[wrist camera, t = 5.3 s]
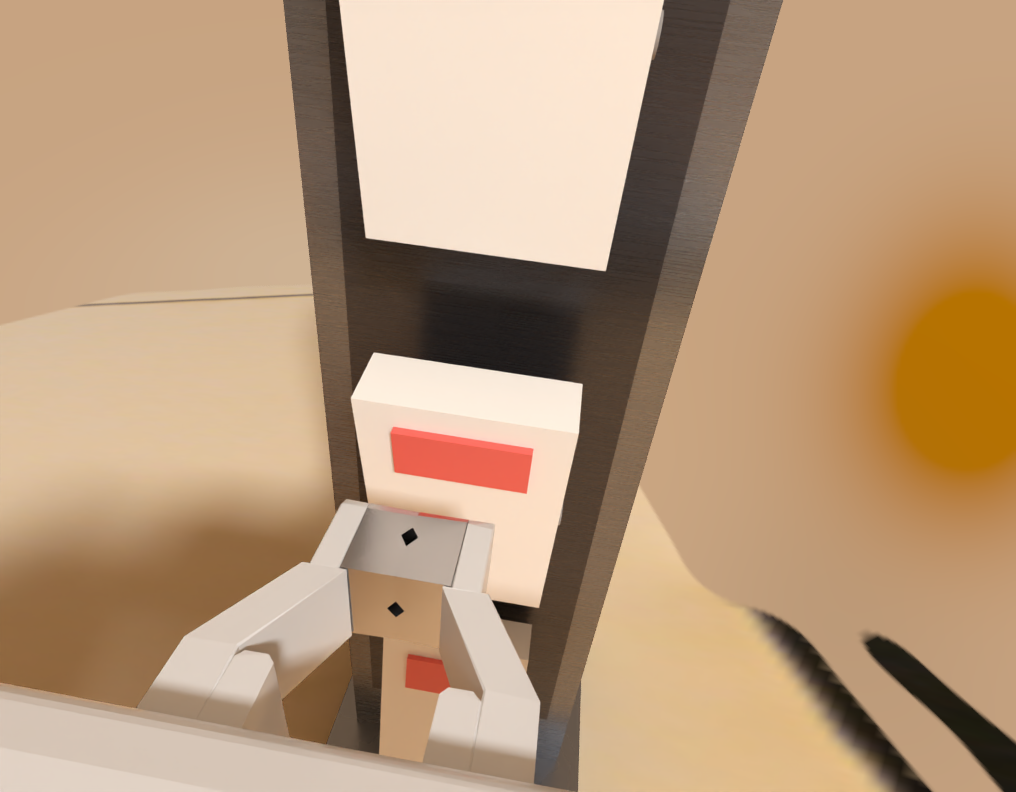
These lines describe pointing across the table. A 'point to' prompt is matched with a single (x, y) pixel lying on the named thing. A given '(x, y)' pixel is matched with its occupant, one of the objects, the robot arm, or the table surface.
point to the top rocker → (497, 121)
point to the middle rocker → (472, 455)
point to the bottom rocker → (421, 691)
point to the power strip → (532, 319)
